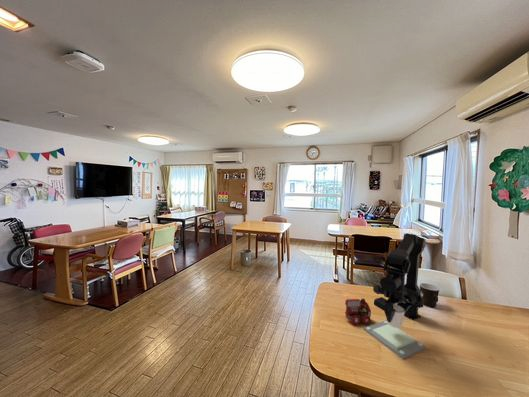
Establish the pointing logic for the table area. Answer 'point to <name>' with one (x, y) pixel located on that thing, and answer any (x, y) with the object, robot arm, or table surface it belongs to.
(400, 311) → the shot glass
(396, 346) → the baseplate
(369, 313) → the toy fire truck
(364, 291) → the table surface
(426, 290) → the coffee mug
